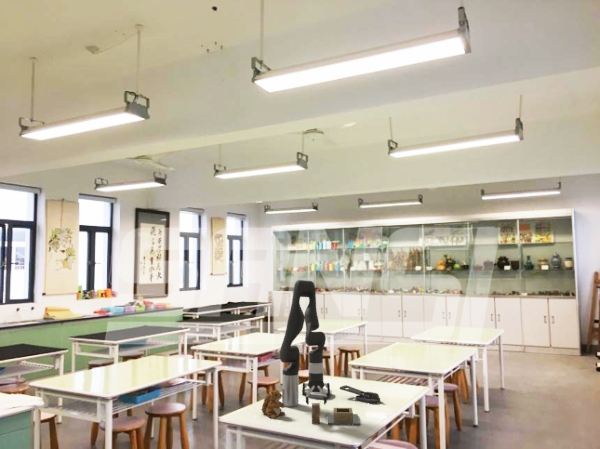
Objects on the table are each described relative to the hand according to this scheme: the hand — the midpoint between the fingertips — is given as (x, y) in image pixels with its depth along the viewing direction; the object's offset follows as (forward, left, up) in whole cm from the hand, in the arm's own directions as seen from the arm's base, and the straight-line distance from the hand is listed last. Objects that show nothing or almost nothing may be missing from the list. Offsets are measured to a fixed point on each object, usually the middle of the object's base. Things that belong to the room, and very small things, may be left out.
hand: (316, 404), depth 242 cm
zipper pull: (+26, +45, -9) cm, 53 cm away
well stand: (+14, +4, -9) cm, 17 cm away
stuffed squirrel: (-24, +13, -9) cm, 29 cm away
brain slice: (+1, +55, -10) cm, 56 cm away
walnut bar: (0, 0, -9) cm, 9 cm away
